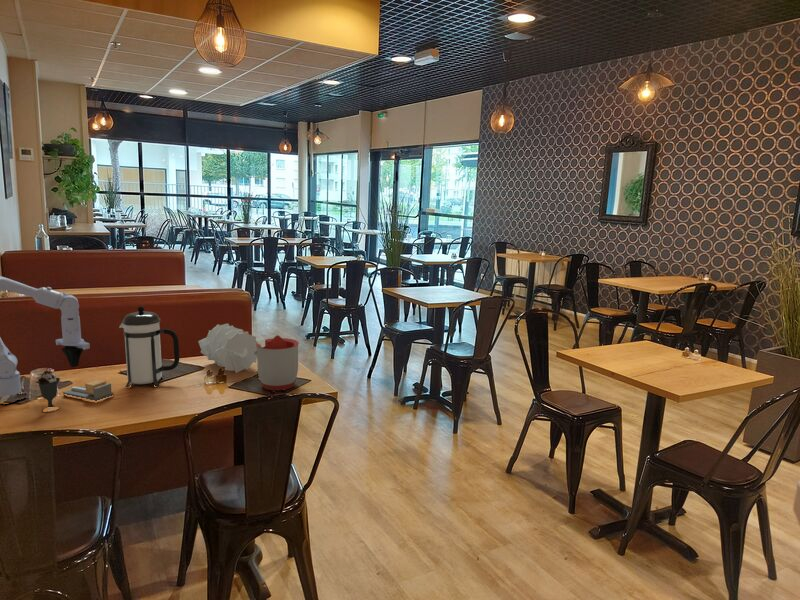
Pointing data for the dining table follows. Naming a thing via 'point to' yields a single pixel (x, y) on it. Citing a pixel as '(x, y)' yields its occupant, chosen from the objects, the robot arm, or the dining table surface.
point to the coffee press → (145, 347)
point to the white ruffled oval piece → (229, 347)
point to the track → (98, 392)
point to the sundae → (48, 386)
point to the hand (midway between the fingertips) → (74, 366)
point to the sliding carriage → (93, 385)
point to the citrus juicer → (277, 363)
